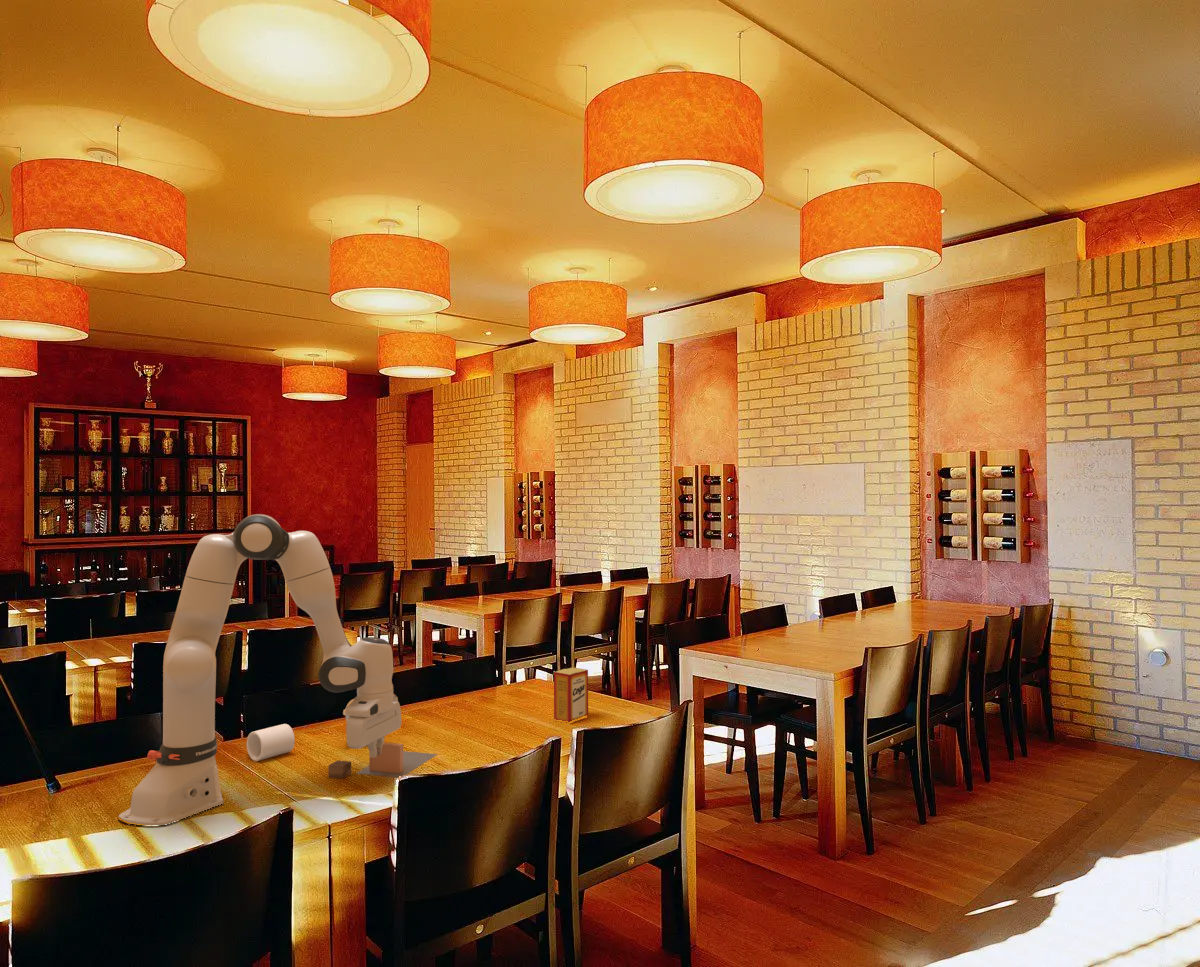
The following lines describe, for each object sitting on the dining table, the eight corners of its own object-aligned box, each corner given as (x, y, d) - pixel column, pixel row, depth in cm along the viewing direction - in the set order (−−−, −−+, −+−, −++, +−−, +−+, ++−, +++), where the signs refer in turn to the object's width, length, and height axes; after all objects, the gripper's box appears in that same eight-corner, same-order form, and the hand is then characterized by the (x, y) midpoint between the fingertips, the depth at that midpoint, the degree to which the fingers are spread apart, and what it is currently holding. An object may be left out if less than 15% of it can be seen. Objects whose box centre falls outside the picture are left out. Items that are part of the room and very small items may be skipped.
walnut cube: (342, 782, 207) (342, 766, 207) (328, 780, 208) (328, 765, 208) (351, 777, 210) (351, 761, 210) (337, 775, 211) (337, 760, 212)
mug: (295, 754, 229) (295, 725, 230) (262, 763, 221) (262, 734, 221) (270, 747, 236) (270, 719, 237) (238, 755, 228) (238, 727, 229)
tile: (400, 773, 211) (400, 745, 211) (369, 770, 213) (369, 743, 213) (403, 770, 212) (403, 743, 212) (373, 767, 215) (373, 741, 215)
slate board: (400, 781, 207) (400, 777, 207) (355, 776, 211) (355, 773, 211) (437, 757, 226) (437, 754, 226) (396, 753, 230) (396, 750, 230)
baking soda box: (572, 714, 270) (572, 666, 271) (588, 717, 266) (587, 668, 267) (554, 720, 263) (553, 671, 263) (569, 724, 259) (569, 673, 259)
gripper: (386, 691, 219) (386, 743, 218) (341, 710, 199) (341, 767, 199) (407, 692, 217) (407, 745, 217) (364, 712, 197) (364, 769, 197)
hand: (375, 756), depth 208 cm, fingers closed
